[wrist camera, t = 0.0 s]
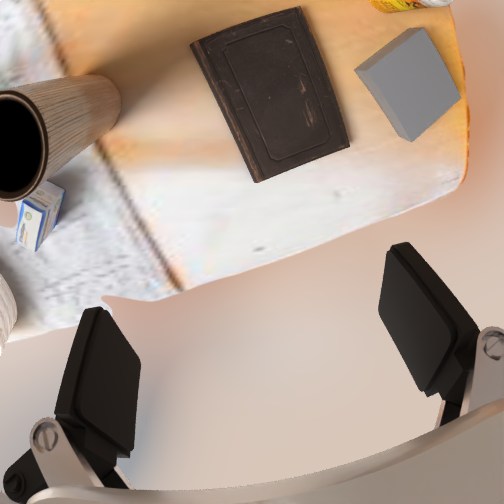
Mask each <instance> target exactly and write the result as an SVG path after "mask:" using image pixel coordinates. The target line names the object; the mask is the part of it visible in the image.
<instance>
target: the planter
mask: <svg viewBox="0 0 504 504" xmlns="http://www.w3.org/2000/svg"><path fill="white" fill-rule="evenodd" d="M120 110H121V98H120V94H119V91H118V89H117V87H116V86H115V84H114V83H113V82H112V81H111V80H109V79H108V78H106V77H104V76H101V75H81V76H73V77H66V78H59V79H53V80H47V81H42V82H36V83H31V84H27V85H22V86H18V87H13V88H9V89H5V90H2V91H0V200H2V201H8V202H13V201H19V200H22V199H24V198H26V197H28V196H29V195H30V194H32V193H33V192H34V191H35V190H36V189H37V188H38V187H39V186H41V185H42V184H43V183H44V182H45V181H46V180H47V179H48V178H50V177H51V176H52V175H53V174H54V173H55V172H57V171H58V170H59V169H60V168H61V167H63V166H64V165H65V164H66V163H68V162H69V161H70V160H71V159H72V158H74V157H75V156H76V155H78V154H79V153H80V152H81V151H83V150H84V149H85V148H87V147H88V146H89V145H91V144H92V143H93V142H95V141H96V140H97V139H99V138H100V137H102V136H103V135H104V134H106V133H107V132H108V131H109V130H110V129H111V128H112V127H113V126H114V124H115V123H116V121H117V119H118V117H119V114H120Z"/></svg>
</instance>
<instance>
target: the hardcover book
mask: <svg viewBox="0 0 504 504" xmlns="http://www.w3.org/2000/svg"><path fill="white" fill-rule="evenodd" d="M190 47H191V49H192V51H193V53H194V55H195V57H196V59H197V61H198V63H199V65H200V67H201V69H202V71H203V74H204V76H205V78H206V80H207V82H208V84H209V86H210V88H211V90H212V92H213V94H214V96H215V99H216V101H217V103H218V105H219V107H220V109H221V111H222V113H223V115H224V118H225V120H226V122H227V124H228V126H229V128H230V130H231V133H232V135H233V137H234V139H235V141H236V143H237V146H238V148H239V150H240V152H241V154H242V157H243V159H244V161H245V163H246V165H247V168H248V170H249V172H250V174H251V176H252V179H253V181H254V183H259V182H261V181H264V180H266V179H269V178H271V177H273V176H276V175H278V174H281V173H283V172H286V171H288V170H291V169H293V168H296V167H298V166H301V165H303V164H306V163H308V162H311V161H313V160H316V159H319V158H321V157H324V156H326V155H329V154H332V153H334V152H337V151H340V150H342V149H345V148H348V147H350V144H349V140H348V137H347V133H346V130H345V126H344V123H343V120H342V116H341V113H340V110H339V107H338V104H337V100H336V97H335V94H334V91H333V88H332V86H331V83H330V80H329V77H328V74H327V71H326V69H325V66H324V63H323V60H322V58H321V55H320V53H319V50H318V48H317V45H316V42H315V40H314V38H313V35H312V33H311V30H310V28H309V26H308V23H307V21H306V19H305V16H304V14H303V12H302V10H301V7H300V6H299V7H295V8H291V9H287V10H283V11H279V12H276V13H272V14H269V15H266V16H262V17H259V18H256V19H253V20H250V21H247V22H244V23H241V24H238V25H235V26H233V27H230V28H227V29H225V30H222V31H220V32H217V33H214V34H212V35H210V36H207V37H205V38H202V39H200V40H198V41H195V42H193V43H192V44H190Z"/></svg>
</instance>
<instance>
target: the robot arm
mask: <svg viewBox="0 0 504 504" xmlns="http://www.w3.org/2000/svg"><path fill="white" fill-rule="evenodd" d="M378 311H379V315H380V317H381V319H382V321H383V323H384V325H385V326H386V328H387V330H388V332H389V334H390V335H391V337H392V339H393V341H394V343H395V345H396V346H397V348H398V350H399V352H400V354H401V356H402V358H403V360H404V361H405V363H406V365H407V367H408V369H409V371H410V373H411V375H412V377H413V379H414V381H415V383H416V385H417V387H418V389H419V390H420V391H424V392H425V394H426V396H427V397H429V396H431V395H434V394H436V393H438V392H439V394H440V396H441V398H442V403H441V407H440V410H439V414H438V418H437V422H436V425H435V428H434V430H432V431H431V432H428V433H426V434H424V435H422V436H419V437H417V438H415V439H413V440H410V441H408V442H406V443H403V444H401V445H398V446H396V447H393V448H391V449H389V450H386V451H383V452H380V453H378V454H375V455H372V456H369V457H367V458H363V459H360V460H357V461H354V462H351V463H348V464H345V465H341V466H338V467H334V468H331V469H327V470H323V471H320V472H316V473H312V474H307V475H303V476H299V477H294V478H289V479H285V480H279V481H274V482H267V483H261V484H254V485H247V486H240V487H230V488H219V489H205V490H184V491H183V490H181V491H159V490H156V491H155V490H136V489H135V488H134V487H133V486H132V484H131V483H130V482H129V481H128V479H127V478H126V477H125V475H124V474H123V473H122V471H121V470H120V469H119V467H118V466H117V465H116V460H117V457H118V458H130V451H132V450H133V449H134V440H135V423H136V410H137V399H138V388H139V379H140V370H141V362H140V359H139V357H138V356H137V354H136V353H135V351H134V350H133V348H132V347H131V345H130V344H129V342H128V341H127V340H126V338H125V337H124V335H123V334H122V332H121V331H120V329H119V327H118V326H117V324H116V323H115V321H114V320H113V318H112V317H111V315H110V313H109V312H108V311H107V310H104V309H103V308H102V307H93V308H88V309H85V310H84V312H83V314H82V317H81V320H80V323H79V326H78V329H77V332H76V335H75V338H74V341H73V344H72V348H71V351H70V354H69V357H68V361H67V365H66V368H65V371H64V375H63V379H62V383H61V386H60V390H59V394H58V399H57V402H56V407H55V411H54V414H55V415H56V417H55V419H53V418H49V417H47V418H43V419H41V420H39V421H38V422H37V423H36V424H35V425H34V427H33V428H32V430H31V433H30V445H31V448H30V449H29V450H28V451H27V452H26V453H25V454H24V455H23V456H21V457H20V458H19V459H18V460H17V461H16V462H15V463H14V464H13V465H12V466H10V467H9V468H8V469H7V471H6V472H5V475H4V479H3V486H4V490H5V492H4V491H1V493H0V504H504V330H503V329H501V328H499V327H487V328H485V329H483V330H482V331H481V332H480V330H479V329H478V326H477V325H476V323H475V322H474V321H473V319H472V318H471V317H470V315H469V314H468V313H467V311H466V310H465V309H464V307H463V306H462V305H461V303H460V302H459V301H458V299H457V298H456V297H455V296H454V295H453V293H452V292H451V291H450V289H449V288H448V287H447V286H446V285H445V283H444V282H443V281H442V280H441V279H440V277H439V276H438V275H437V274H436V272H435V271H434V270H433V269H432V268H431V267H430V266H429V264H428V263H427V262H426V261H425V260H424V259H423V258H422V256H421V255H420V254H419V253H418V252H417V251H416V250H415V249H414V247H413V246H412V245H411V244H410V243H409V242H403V243H399V244H395V245H392V246H391V248H390V250H389V251H387V254H386V261H385V268H384V275H383V282H382V288H381V295H380V300H379V306H378Z"/></svg>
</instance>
